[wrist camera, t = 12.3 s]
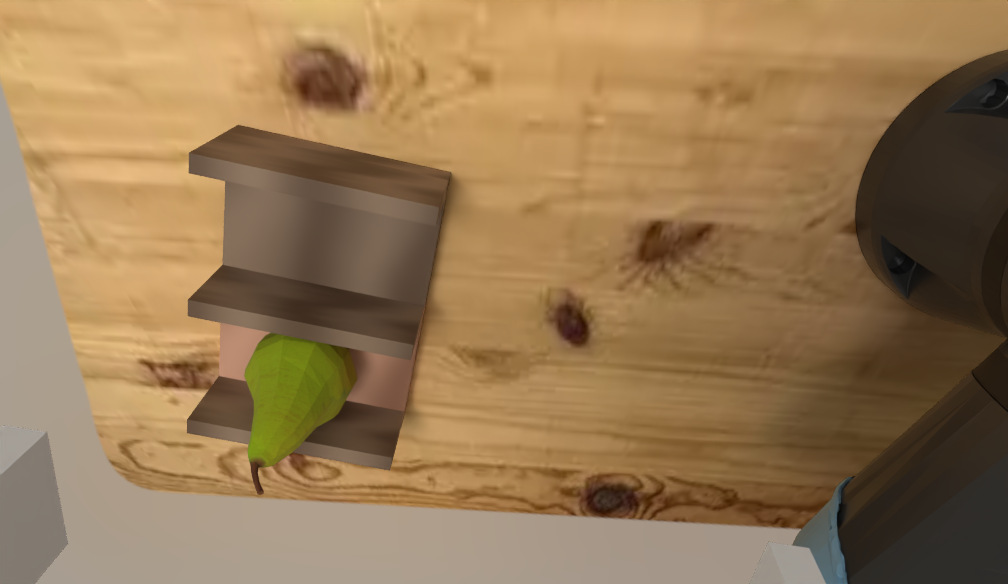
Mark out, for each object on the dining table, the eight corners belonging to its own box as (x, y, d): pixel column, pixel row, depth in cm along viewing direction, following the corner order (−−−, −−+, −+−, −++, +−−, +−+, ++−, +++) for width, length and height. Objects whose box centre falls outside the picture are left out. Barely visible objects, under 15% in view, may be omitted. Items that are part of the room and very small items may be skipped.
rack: (450, 172, 37) (439, 207, 32) (405, 409, 45) (389, 470, 39) (237, 125, 36) (188, 152, 31) (227, 375, 44) (187, 432, 38)
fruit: (266, 295, 39) (171, 419, 29) (369, 311, 40) (314, 440, 29) (265, 382, 42) (178, 525, 31) (361, 397, 43) (308, 543, 32)
